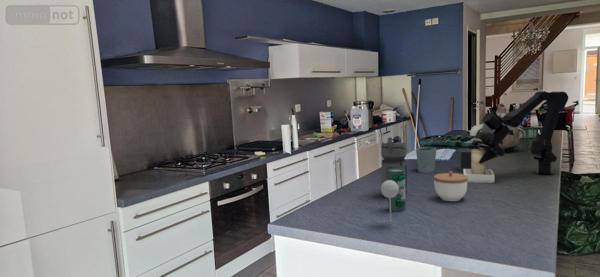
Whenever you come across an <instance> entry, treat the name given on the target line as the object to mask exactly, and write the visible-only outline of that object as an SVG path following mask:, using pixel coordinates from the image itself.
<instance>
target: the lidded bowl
mask: <svg viewBox="0 0 600 277" xmlns="http://www.w3.org/2000/svg"><path fill="white" fill-rule="evenodd" d="M433 180H434V181H433V183H434V189H435V192H436V195H438V197H440V199H441V200H442V201H445V202H458V201H461V199H462V198H463V197H464V196H465V195H466V193H467V190H468V182H467V180H468V177H467V176H466V175H463V173H455V172H454V173H453V171H452V170H451V171H448V172H447V173H444V172H443V173H437V174H434V176H433Z"/></svg>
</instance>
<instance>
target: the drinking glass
mask: <svg viewBox="0 0 600 277" xmlns="http://www.w3.org/2000/svg"><path fill="white" fill-rule="evenodd" d="M415 152H416V163H417V172H419V173H423V174H430V173H435V172H436V160H437V157H436V156H437V148H436V147H432V146H431V147H430V146H429V147H428V146H425V147H424V146H423V147H417V148H415Z"/></svg>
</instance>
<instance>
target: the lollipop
mask: <svg viewBox="0 0 600 277" xmlns="http://www.w3.org/2000/svg"><path fill="white" fill-rule="evenodd" d="M380 192H381V194H382V196H384V197H385V198H387V199H388V198H389V205H390V210H389V225H392V211H391V198H393V197H395V196H396V195H397V194H398V192H399V187H398V185H397V183H396V182H394V181H392V180H388V181H385V182H384V183H383V184H382V183H381V186H380Z"/></svg>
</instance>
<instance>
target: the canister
mask: <svg viewBox="0 0 600 277" xmlns="http://www.w3.org/2000/svg"><path fill="white" fill-rule="evenodd" d="M470 150H471V174H473V175H485V169H486V162H483V163H481V164H480V163H479V161H480V159H481V158H482V156H483V155H484V154H485V152H486V150H484V149H475V148H473V149H470Z"/></svg>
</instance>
